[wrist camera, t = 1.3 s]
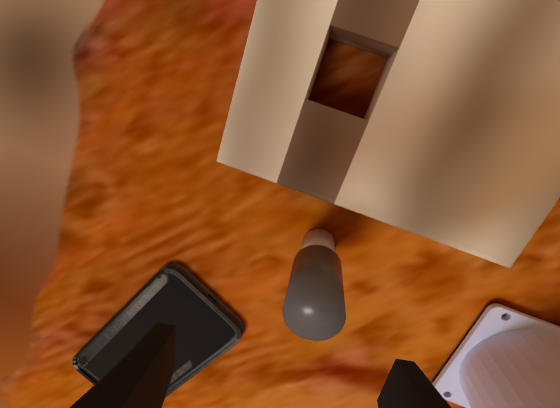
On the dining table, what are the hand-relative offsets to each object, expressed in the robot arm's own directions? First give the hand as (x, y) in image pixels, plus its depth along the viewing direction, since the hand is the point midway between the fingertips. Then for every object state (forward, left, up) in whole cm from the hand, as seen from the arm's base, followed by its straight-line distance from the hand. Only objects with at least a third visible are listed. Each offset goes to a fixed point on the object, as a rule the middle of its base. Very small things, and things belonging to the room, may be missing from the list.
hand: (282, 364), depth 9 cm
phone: (+8, +13, -10) cm, 19 cm away
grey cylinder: (-1, 0, -10) cm, 10 cm away
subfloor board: (-2, -10, -10) cm, 14 cm away
